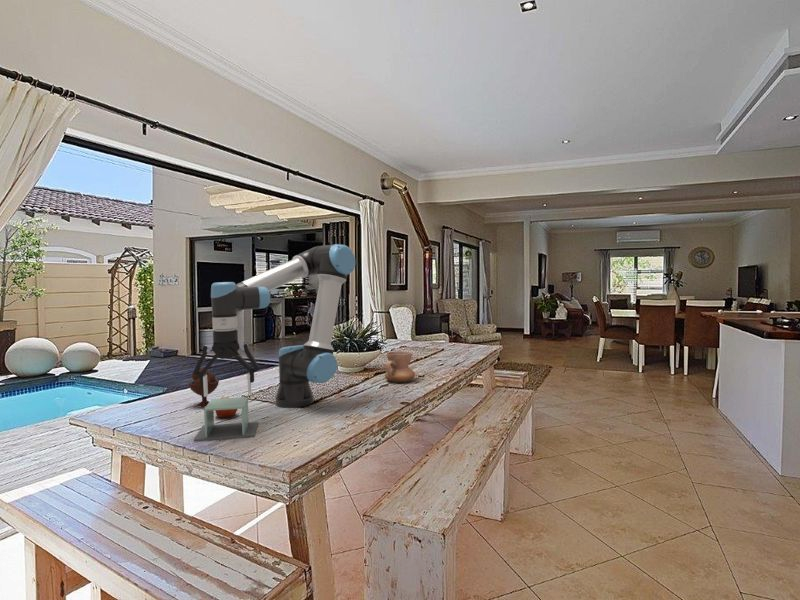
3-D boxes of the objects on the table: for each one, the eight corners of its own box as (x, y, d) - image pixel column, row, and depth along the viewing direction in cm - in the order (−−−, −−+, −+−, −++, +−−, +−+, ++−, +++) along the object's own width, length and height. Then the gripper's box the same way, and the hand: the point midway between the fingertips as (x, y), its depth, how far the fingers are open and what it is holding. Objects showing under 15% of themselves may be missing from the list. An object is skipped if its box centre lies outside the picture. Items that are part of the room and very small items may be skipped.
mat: (258, 423, 162) (258, 421, 162) (254, 437, 149) (254, 435, 149) (202, 427, 159) (202, 425, 158) (193, 441, 145) (193, 439, 145)
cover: (248, 423, 161) (247, 397, 160) (244, 434, 149) (243, 406, 148) (212, 425, 158) (211, 399, 158) (204, 437, 146) (204, 409, 146)
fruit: (213, 410, 174) (224, 391, 174) (232, 420, 175) (243, 401, 175) (206, 416, 166) (217, 397, 166) (226, 427, 167) (237, 408, 167)
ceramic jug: (400, 376, 238) (399, 348, 237) (422, 379, 229) (421, 351, 228) (375, 383, 225) (374, 353, 224) (398, 387, 215) (397, 356, 214)
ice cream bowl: (209, 409, 180) (208, 371, 179) (183, 408, 182) (182, 370, 181) (224, 402, 190) (223, 365, 189) (200, 401, 192) (199, 364, 191)
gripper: (181, 332, 146) (184, 399, 147) (264, 329, 151) (266, 394, 152) (186, 329, 153) (190, 393, 154) (265, 326, 158) (268, 388, 159)
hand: (228, 394), depth 153 cm, fingers open, 13 cm apart
